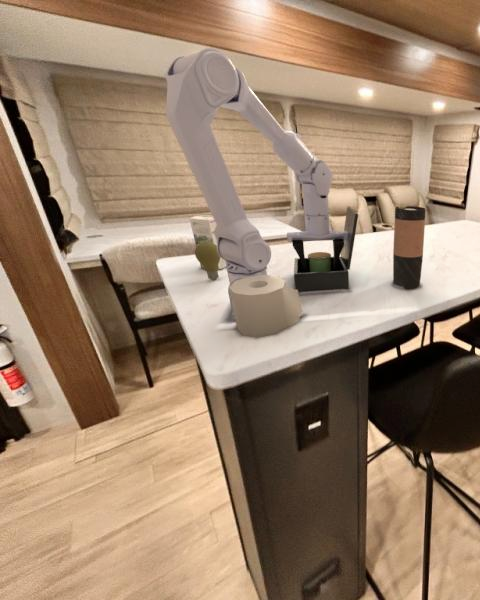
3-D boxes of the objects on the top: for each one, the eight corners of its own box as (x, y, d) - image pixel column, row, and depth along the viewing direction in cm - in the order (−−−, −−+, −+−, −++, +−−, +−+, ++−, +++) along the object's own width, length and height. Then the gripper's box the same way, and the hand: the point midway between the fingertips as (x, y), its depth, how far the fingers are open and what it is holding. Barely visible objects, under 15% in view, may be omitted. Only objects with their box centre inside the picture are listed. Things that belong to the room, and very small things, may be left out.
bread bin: (296, 295, 74) (293, 274, 71) (296, 276, 85) (294, 258, 83) (348, 291, 77) (348, 271, 75) (342, 274, 89) (341, 256, 87)
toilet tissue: (313, 314, 65) (310, 276, 61) (259, 343, 54) (252, 299, 51) (282, 302, 69) (278, 266, 65) (227, 328, 58) (218, 286, 54)
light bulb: (196, 280, 80) (187, 242, 76) (217, 275, 84) (209, 238, 80) (210, 285, 77) (201, 245, 73) (230, 278, 82) (223, 241, 78)
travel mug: (418, 291, 79) (423, 210, 71) (389, 288, 80) (391, 208, 72) (422, 281, 86) (427, 207, 78) (395, 278, 87) (398, 205, 79)
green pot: (333, 283, 79) (331, 257, 76) (310, 285, 78) (308, 258, 75) (331, 276, 84) (329, 251, 81) (309, 278, 83) (307, 252, 80)
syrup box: (231, 264, 93) (222, 215, 87) (219, 270, 88) (208, 218, 82) (213, 263, 94) (203, 214, 88) (200, 269, 88) (188, 217, 82)
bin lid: (355, 213, 70) (358, 214, 70) (347, 206, 82) (349, 206, 82) (346, 269, 75) (349, 269, 75) (340, 254, 87) (342, 255, 87)
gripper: (344, 212, 80) (346, 262, 85) (285, 212, 76) (291, 265, 81) (348, 216, 73) (350, 270, 79) (284, 216, 69) (290, 273, 75)
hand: (320, 268), depth 80 cm, fingers open, 7 cm apart
